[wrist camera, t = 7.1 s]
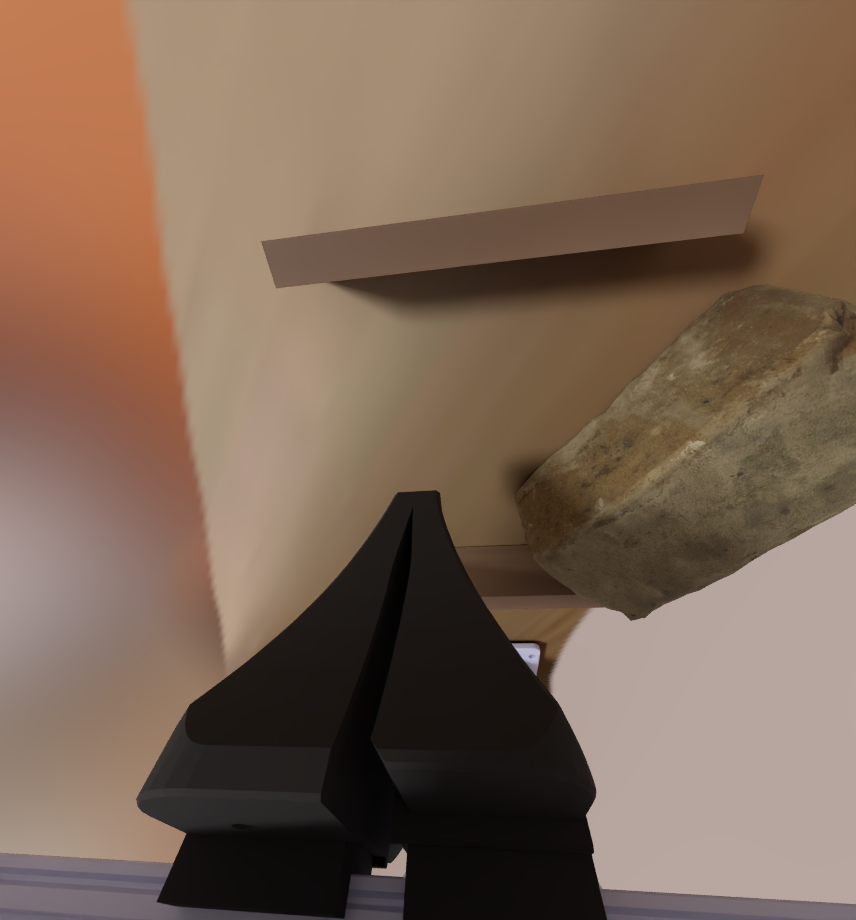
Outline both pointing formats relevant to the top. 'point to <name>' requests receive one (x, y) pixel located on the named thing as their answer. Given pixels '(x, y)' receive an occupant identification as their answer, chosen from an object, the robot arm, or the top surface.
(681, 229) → the chute
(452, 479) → the top surface
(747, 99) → the top surface
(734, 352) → the stone block
